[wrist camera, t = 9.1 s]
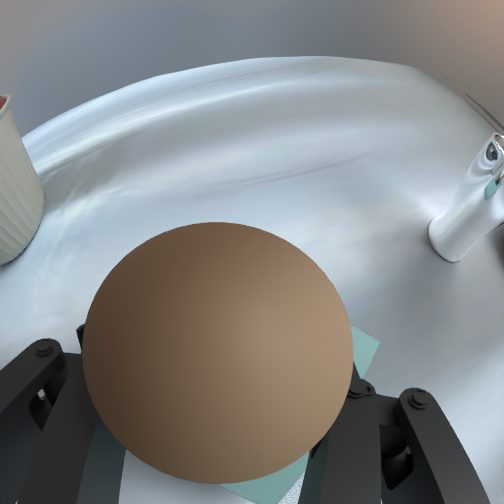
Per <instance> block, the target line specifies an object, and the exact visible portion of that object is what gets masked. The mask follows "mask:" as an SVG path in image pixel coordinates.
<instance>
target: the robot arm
mask: <svg viewBox="0 0 504 504" xmlns="http://www.w3.org/2000/svg"><path fill="white" fill-rule="evenodd" d="M84 327H85V324H83V325H81V326H80V327H79V328H78V329H76V331H77V335H78V339H79V343H80V347H81V351H82V341H83V333H84ZM41 389H43V391H44V393H45V395H44V396H43V397H42V398H40V397H39V396H38V394H37V393H38V392H39V391H40V390H41ZM125 451H126V448H125V447H124V446H123V445H122V444H121V443H120V442H119V441H118V440H117V439H116V438H115V437H114V435H113V434H112V433H111V432H110V430H109V429H108V428H107V426H106V425H105V424H104V422H103V421H102V419H101V417H100V415H99V414H98V412H97V410H96V408H95V406H94V404H93V401H92V399H91V397H90V394H89V391H88V388H87V384H86V380H85V376H84V370H83V361H82V352H81V354H74V353H64V352H63V351H62V348H61V345H60V343H59V342H58V341H56V340H54V339H50V338H45V339H40V340H37V341H35V342H34V343H32V344H31V345H30V346H28V347H27V348H26V349H25V350H24V351H23V352H21V353H20V354H19V355H18V356H17V357H15V358H14V359H13V360H12V361H11V362H10V363H9V364H7V365H6V366H5V367H4V368H3V369H2V370H1V371H0V504H15V503H16V502H17V500H18V502H17V504H118V501H119V492H120V484H121V477H122V470H123V463H124V457H125ZM18 498H19V499H18ZM381 500H382V504H490V501H489V499H488V497H487V494H486V492H485V490H484V488H483V486H482V483H481V481H480V479H479V477H478V475H477V473H476V471H475V469H474V467H473V465H472V463H471V461H470V459H469V457H468V455H467V454H466V452H465V450H464V448H463V446H462V444H461V443H460V441H459V439H458V437H457V435H456V434H455V432H454V430H453V428H452V427H451V425H450V423H449V421H448V420H447V418H446V416H445V415H444V413H443V411H442V410H441V408H440V406H439V405H438V403H437V402H436V400H435V398H434V397H433V396H432V395H431V394H430V393H428V392H427V391H425V390H423V389H419V388H409V389H406V390H404V391H403V392H402V393H401V395H400V397H399V398H394V397H388V396H383V395H379V394H376V392H375V389H374V387H373V386H372V385H371V384H370V383H369V382H367V381H365V380H363V379H361V378H360V376H359V374H358V371H357V368H356V366H355V363H354V361H353V371H352V376H351V382H350V387H349V390H348V393H347V396H346V398H345V401H344V404H343V406H342V408H341V410H340V412H339V414H338V416H337V418H336V420H335V421H334V423H333V424H332V426H331V427H330V428H329V430H328V431H327V433H326V434H325V435H324V437H323V438H322V439H321V440H320V441H319V442H318V443H317V444H316V445H315V446H314V447H313V448H312V449H311V450H310V451H309V456H308V461H307V466H306V471H305V475H304V480H303V484H302V488H301V493H300V497H299V501H298V504H381Z"/></svg>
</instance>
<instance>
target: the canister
mask: <svg viewBox="0 0 504 504" xmlns="http://www.w3.org/2000/svg"><path fill="white" fill-rule="evenodd" d="M10 100H11V96H10V95H9V94H5V95H3V96H0V265H3V264H5V263H9V262H10V261H12V260H14V258H15V257H18V255H19V254H20V253H21V252H23V250H24V249H25V248H26V247H27V245H28V244H29V243H30V242H31V239H32V238H33V236H34V235H35V232H36V231H37V230H38V226H39V225H40V223H41V219H42V217H43V213H44V206H45V197H44V192H43V188H42V185H41V182H40V180H39V178H38V176H37V174H36V171H35V169H34V167H33V165H32V162H31V160H30V158H29V156H28V153H27V151H26V149H25V147H24V144H23V142H22V140H21V137H20V135H19V132H18V130H17V127H16V124H15V122H14V119H13V116H12V114H11V111H10V108H9V103H10Z"/></svg>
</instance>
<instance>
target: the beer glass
mask: <svg viewBox="0 0 504 504" xmlns="http://www.w3.org/2000/svg"><path fill="white" fill-rule="evenodd" d="M503 223H504V136H503V135H501V134H499V133H497V132H493V134H492V135H491V137H490V138H489V140H488V141H487V142H486V143H485V145H484V146H483V147H482V149H481V150H480V151H479V153H478V154H477V155H476V157H475V158H474V160H473V161H472V163H471V164H470V166H469V168H468V169H467V171H466V173H465V175H464V177H463V179H462V181H461V183H460V185H459V187H458V189H457V192H456V194H455V196H454V198H453V200H452V202H451V203H450V205H449V206H448V208H447V209H446V210H445V211H444V212H443V213H442V214H441V215H439V216H438V217H437V218H435V219H434V220H433V221H432V222H431V223H430V225H429V230H428V232H429V238H430V241H431V243H432V245H433V247H434V249H435V250H436V252H437V253H438V254H439V255H440V256H441V257H443V258H444V259H446V260H447V261H450V262H457V261H459V260H461V259H462V257H463V256H464V255H465V254H466V252H467V251H468V249H469V248H470V247H471V246H472V245H473V244H474V243H475V242H476V241H477V240H478V239H480V238H481V237H483V236H484V235H486V234H488V233H489V232H491V231H493V230H494V229H496V228H497V227H499V226H500V225H502V224H503Z"/></svg>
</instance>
